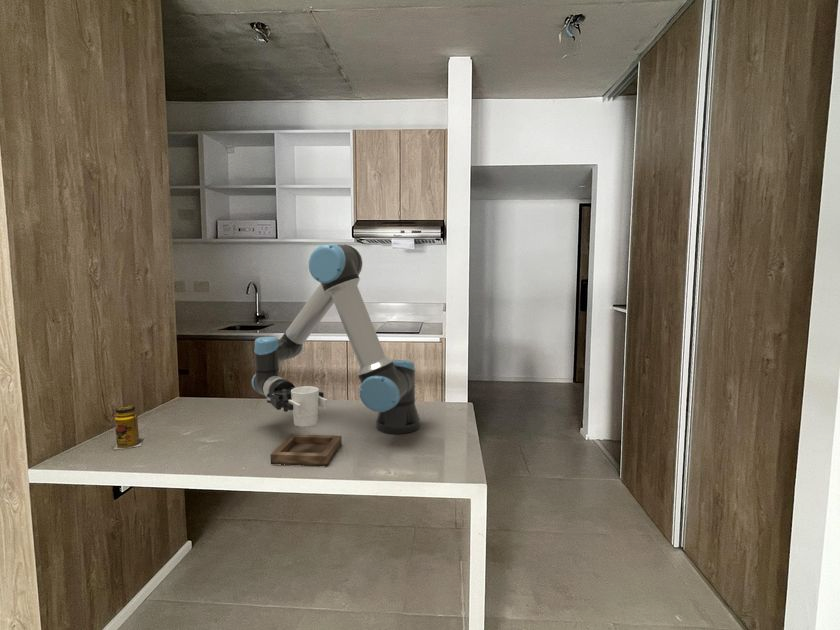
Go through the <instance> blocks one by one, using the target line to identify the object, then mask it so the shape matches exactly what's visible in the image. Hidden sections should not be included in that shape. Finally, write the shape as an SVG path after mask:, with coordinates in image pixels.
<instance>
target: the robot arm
mask: <svg viewBox="0 0 840 630" xmlns="http://www.w3.org/2000/svg"><path fill="white" fill-rule="evenodd" d="M308 270H309V273H310V275H311V276H312V278H313V279H314V280H315V281H317V282H318V283H320V284H319V285H318V287H317V288H316V289H315V291H314V292H313V293H312V295H311V296H310V297H309V298H308V300H307V302H306V303H305V304H304V306H303V307H302V308H301V310H300V311H299V312H298V314H297V315H296V317H295V318H294V319H293V321H292V322H291V324H290V325H289V326H288V328H286V330H285V331H284V333H283V335H282V336H281V337H280V338H279V339H278V338H277V337H276V336H262V337H261V336H259V337H257V338H256V339H254V349H253V352H254V365H255V366H254V367H255V368H254V369H255V374H254V375H253V376H252V378H251V387H252V388H253V390H254V391H255V392H257V393H258V394H259V395H263V396H264V397H266V403H269V404H270V405H272V407H273V408H274V409H276V410H278V411H280V410H282V409H283V412H284V413H286V412H288V411H291V412H292V413H293V412H294V413H296V414H298V415H300V414H301V405H300V404H298V403H296V402H294V401H292V399H291V390H292V389H294V388H296V386H295V384H293V382H291V381H290V380H288V379H285V378H283V377H280V363H281V362H284V361H287V360H289V359H293V358H295V357H297V356H298V355H300V354H301V353H302V351H303V346H304V343H305V342H306V340H307V339H309V337H310V336H311V334H312V333H313V331H314V330H315V329H316V327H317V326H318V325H319V324H320V322H321V321H322V319H323V318H324V317H325V316H326V314H327V313H328V312H329V310H330V309H331V308H332V306H333V305H334V306H335V308H336V310H337V313H338V316H339V318H340V321H341V323H342V326H343V328H344V330H345V334H346V336H347V339H348V341H349V344H350V346H351V348H352V351H353V354H354V356H355V358H356V361H357V363H358V367H359V370H358V372H357V377H358V379H359V382H360V387H359V398H360V400H361V402H362V404H363V405H364V406H365V407H366V408H367V409H369V410H371V411H373V412H374V413H375V412H377V415H376V419H375V428H376V430H377V431H378V432H381V433H384V434H390V435H392V434H393V435H399V434H402V435H403V434H409V433H413V432H416V431H418V430H419V429H421V428H420V427H421V419H420V415H419V413H418V408H417V406H416V401H415V400H416V399H415V397H416V396H415V395H416V392H415V391H416V384H415V381H416V379H415V375H416V368H415V363H414V362H413V361H411V360H406V359H405V360H404V359H390V358H388V357H386V354H385V352H384V349H383V347H382V344H381V341H380V339H379V338H378V337H379V336H378V334H377V332H376V330H375V327H374V324H373V321H372V319H371V317H370V314H369V312H368V309H367V307H366V304H365V302H364V300H363V297H362V295H361V292H360V289H359V287H358V285H359V282H360V281H361V278H360V276H359V275H360V274H361V272H362V270H363V258H362V255H361V254H360V252H359V251H358V249H356V248H355V247H353V246H351V245H348V244H336V243H327V244H322V245H321V244H320V245H318V246H317V247H316V248H315V249H314V250H313V251H312V252H311V254H310V257H309V258H308ZM318 407H320V408H322V409H324V410H327V409H328V398H324V392H322V391H319V404H318Z"/></svg>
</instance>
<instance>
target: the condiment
mask: <svg viewBox="0 0 840 630" xmlns="http://www.w3.org/2000/svg"><path fill="white" fill-rule="evenodd" d="M114 428H115V436H116V439H115V440H116V444H115V446H114V448H113V450H124V449H130V448H135V447H141V446H142V443H143V441H144V438H145V437H144V436H141V437H140V434H139V423H138V414H137V412H136V407H135V405H123V406H120V407H116V408H115V417H114Z"/></svg>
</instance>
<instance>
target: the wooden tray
mask: <svg viewBox="0 0 840 630" xmlns="http://www.w3.org/2000/svg"><path fill="white" fill-rule="evenodd" d="M342 442H343V441H342V435H333V434H332V435H330V434H329V435H328V434H325V435H324V434H294V433H292V434H290V435H288V436H287V438H286V439H284V440H283V441H282V443H281V444H280V445H278V446H277V448H275V449H274V450H273V451H272V452H271V453H270V455H269V459H270V465H271V464H281V465H280V466H290V465H301V466H300V467H320V466H325V467H324V468H326V467H328V466H329V464H330V462H331V461H332V460H333V459H334V457H335V455H336V454H337V453H338V451H339V449H340V448H341V447H342ZM284 464H285V465H284ZM303 465H304V466H303Z"/></svg>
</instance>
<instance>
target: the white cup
mask: <svg viewBox="0 0 840 630" xmlns="http://www.w3.org/2000/svg"><path fill="white" fill-rule="evenodd" d="M319 389H320V388H318V387H317V386H311V385H310V386H308V385H307V386H306V385H305V386H298V387H297V386H296V387H295V388H294V389H292V390H291V399H292V401H294V402H296V403H298V404H300V405H301V414H300V415H298V414H296V413H294V412H293V411H292V416H293V417H292V418H293V425H294V426H296V427H301V428H302V427H304V428H305V427H312V426H315V425H317V424H318V421H319V420H318V418H319V417H318V415H319V406H318V404H319V392H320V390H319Z"/></svg>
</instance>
